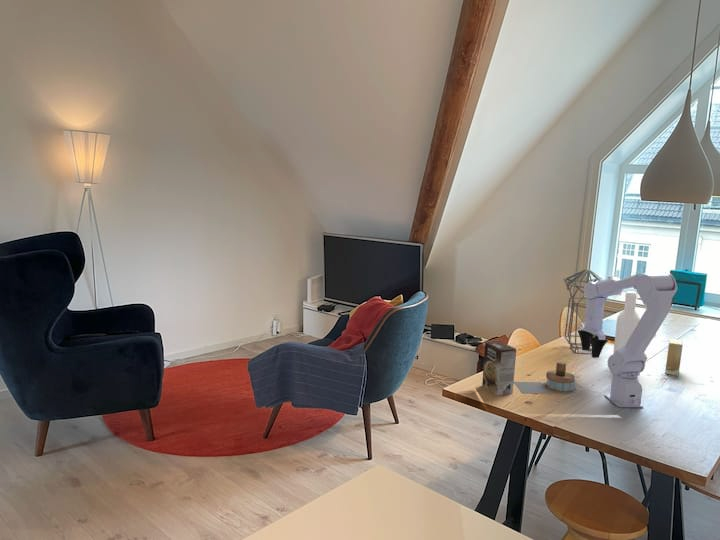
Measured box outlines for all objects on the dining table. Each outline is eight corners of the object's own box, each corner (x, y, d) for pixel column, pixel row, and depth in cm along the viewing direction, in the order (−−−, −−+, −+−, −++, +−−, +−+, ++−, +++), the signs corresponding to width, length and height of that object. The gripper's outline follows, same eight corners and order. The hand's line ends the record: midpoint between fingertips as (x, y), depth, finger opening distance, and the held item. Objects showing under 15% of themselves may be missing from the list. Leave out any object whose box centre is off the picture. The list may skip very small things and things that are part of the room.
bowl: (579, 393, 173) (580, 383, 173) (552, 392, 173) (553, 383, 172) (568, 383, 182) (569, 373, 181) (542, 382, 182) (543, 373, 181)
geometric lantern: (607, 358, 210) (614, 273, 204) (566, 356, 213) (572, 272, 207) (596, 346, 226) (602, 266, 220) (558, 344, 228) (563, 266, 222)
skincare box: (665, 369, 199) (669, 338, 197) (678, 371, 197) (682, 340, 195) (665, 374, 194) (669, 342, 192) (678, 376, 191) (682, 344, 189)
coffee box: (481, 387, 176) (484, 341, 174) (497, 385, 178) (500, 340, 176) (497, 398, 168) (500, 350, 165) (513, 395, 170) (517, 348, 167)
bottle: (606, 367, 200) (614, 290, 195) (620, 364, 203) (628, 289, 198) (625, 374, 193) (634, 294, 188) (639, 371, 196) (648, 293, 191)
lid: (579, 383, 173) (580, 368, 172) (552, 383, 172) (553, 368, 171) (567, 373, 182) (568, 359, 181) (542, 373, 181) (543, 359, 180)
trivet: (552, 395, 170) (552, 393, 170) (522, 395, 170) (522, 393, 170) (541, 384, 180) (541, 382, 180) (513, 383, 180) (513, 381, 180)
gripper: (573, 310, 187) (570, 347, 189) (592, 321, 173) (588, 360, 175) (593, 311, 187) (589, 347, 189) (613, 321, 173) (609, 360, 175)
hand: (590, 353), depth 182 cm, fingers open, 7 cm apart
